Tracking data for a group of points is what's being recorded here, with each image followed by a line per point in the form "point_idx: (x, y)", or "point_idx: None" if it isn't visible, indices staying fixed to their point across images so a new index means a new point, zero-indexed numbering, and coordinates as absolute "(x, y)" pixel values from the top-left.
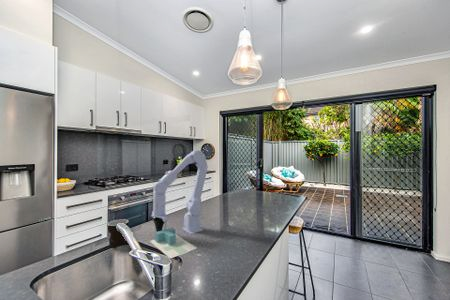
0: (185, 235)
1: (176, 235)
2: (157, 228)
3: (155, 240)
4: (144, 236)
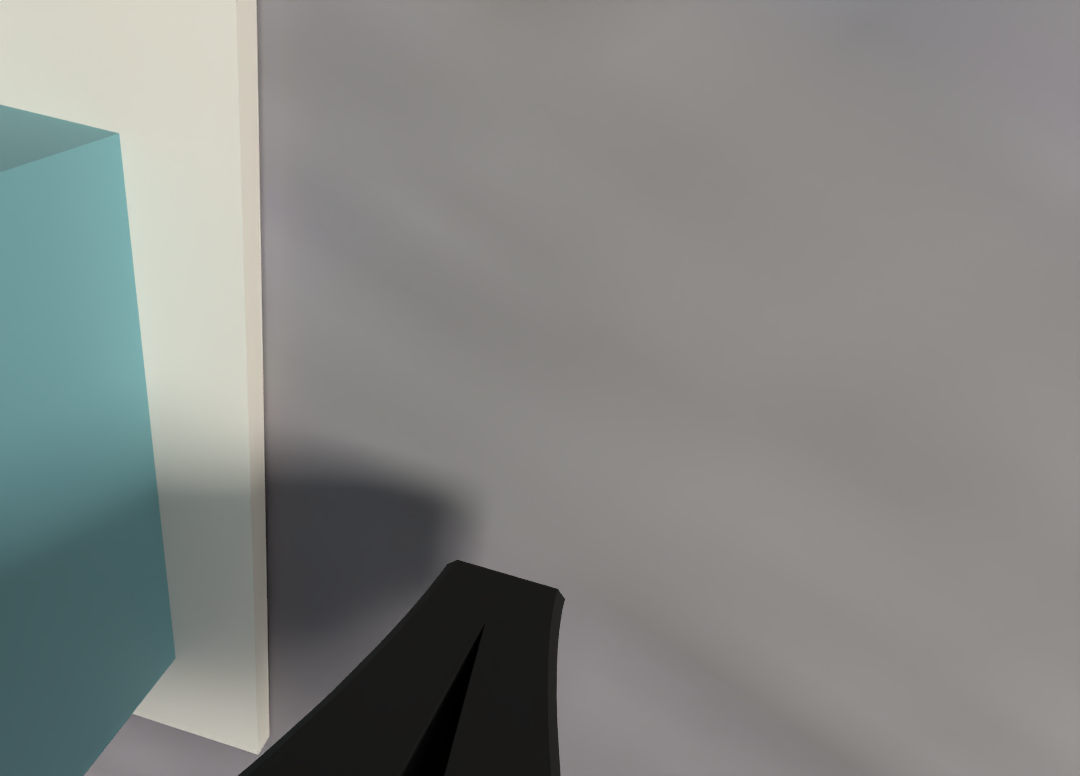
0: None
1: None
2: (333, 692)
3: (54, 129)
4: (1012, 179)
